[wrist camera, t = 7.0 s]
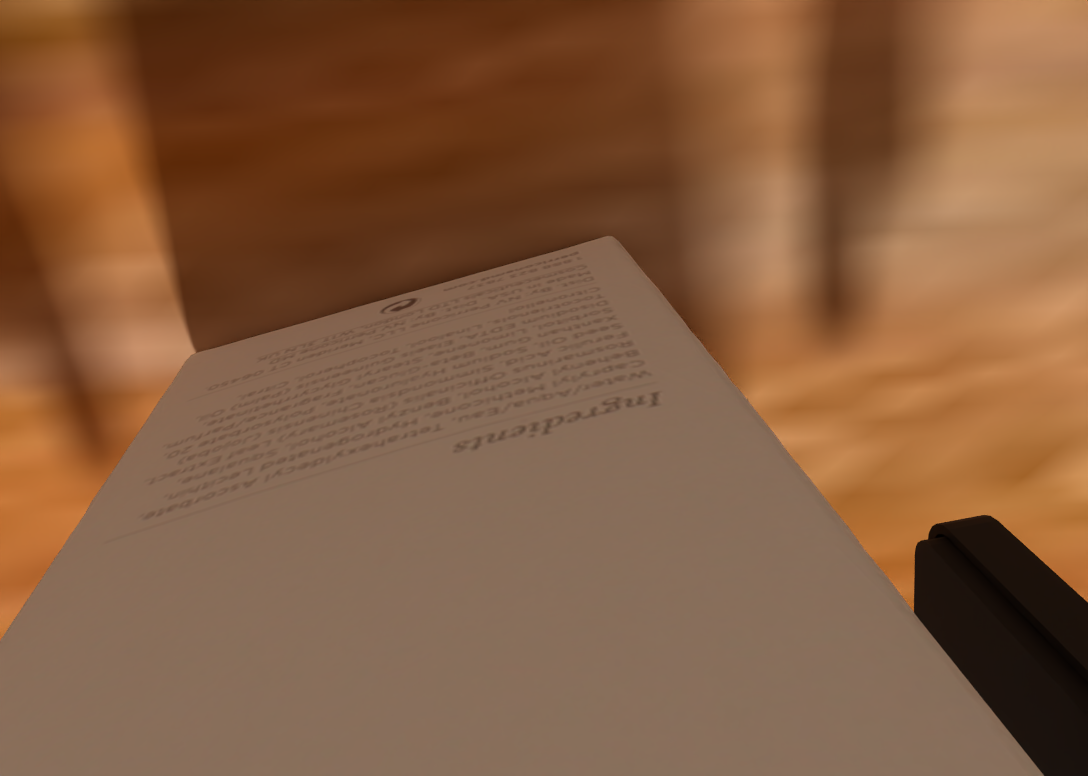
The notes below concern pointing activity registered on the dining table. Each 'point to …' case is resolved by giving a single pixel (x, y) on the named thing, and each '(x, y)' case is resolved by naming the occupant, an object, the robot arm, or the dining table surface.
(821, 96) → the dining table surface
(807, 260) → the dining table surface
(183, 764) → the small box
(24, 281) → the dining table surface
